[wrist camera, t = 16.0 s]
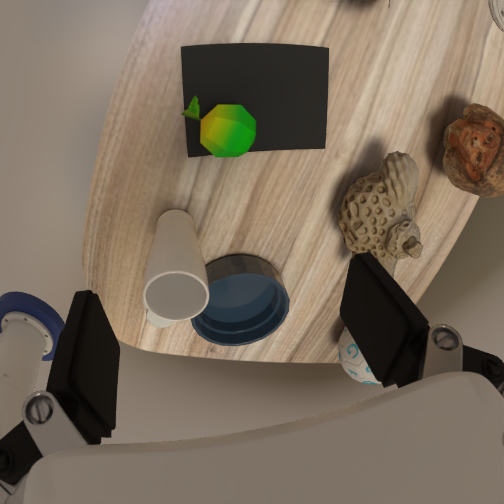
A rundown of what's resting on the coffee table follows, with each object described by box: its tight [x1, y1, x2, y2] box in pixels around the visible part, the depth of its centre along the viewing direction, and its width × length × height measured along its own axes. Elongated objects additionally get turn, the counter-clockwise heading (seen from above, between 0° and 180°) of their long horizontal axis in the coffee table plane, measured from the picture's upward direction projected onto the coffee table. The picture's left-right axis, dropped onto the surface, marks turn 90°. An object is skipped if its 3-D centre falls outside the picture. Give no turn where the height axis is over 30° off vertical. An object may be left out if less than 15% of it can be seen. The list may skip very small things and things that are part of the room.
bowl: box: [191, 255, 290, 346], centre depth 48 cm, size 15×15×5 cm
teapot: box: [338, 151, 423, 278], centre depth 40 cm, size 21×12×15 cm, turn 173°
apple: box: [181, 95, 256, 157], centre depth 32 cm, size 7×6×9 cm
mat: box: [181, 43, 329, 157], centre depth 34 cm, size 18×14×1 cm
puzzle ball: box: [338, 326, 381, 384], centre depth 56 cm, size 15×15×15 cm
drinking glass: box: [143, 209, 209, 321], centre depth 36 cm, size 7×7×15 cm
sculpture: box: [443, 103, 504, 198], centre depth 36 cm, size 15×16×15 cm
